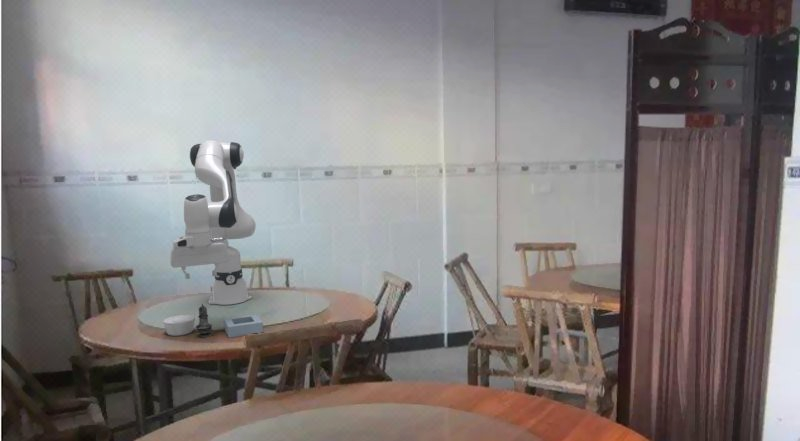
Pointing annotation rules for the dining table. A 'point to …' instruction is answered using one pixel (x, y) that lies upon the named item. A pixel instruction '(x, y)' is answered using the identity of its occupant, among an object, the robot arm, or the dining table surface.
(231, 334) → the caddy block
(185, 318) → the ramekin
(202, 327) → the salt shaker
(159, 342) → the dining table surface
